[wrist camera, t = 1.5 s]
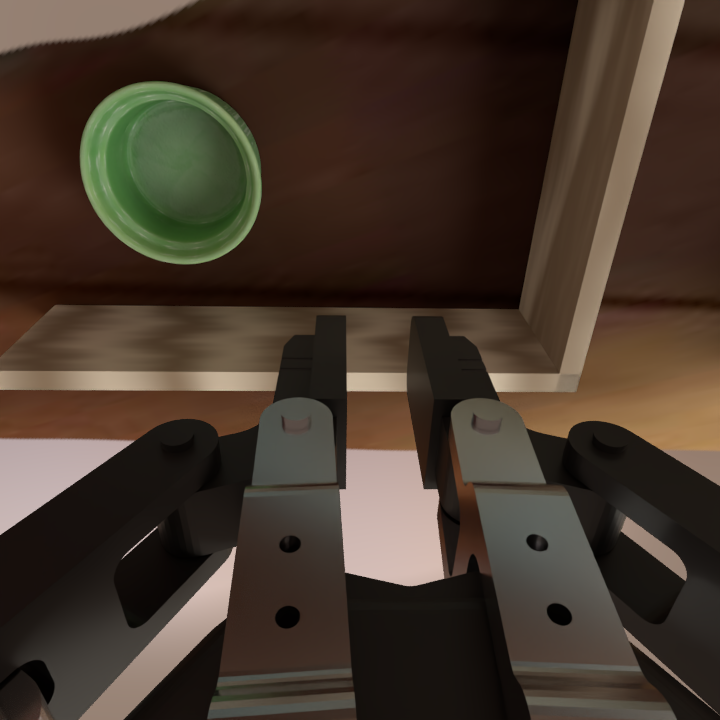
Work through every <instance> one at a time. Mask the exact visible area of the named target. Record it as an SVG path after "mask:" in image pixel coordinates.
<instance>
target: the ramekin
mask: <svg viewBox="0 0 720 720" xmlns="http://www.w3.org/2000/svg"><path fill="white" fill-rule="evenodd" d="M80 169H81V176H82V181H83V184H84V188H85V191H86V194H87V196H88V198H89V201H90V203H91V205H92V206H93V208H94V210H95V212H96V213H97V215H98V216H99V218H100V219H101V220H102V222H103V223H104V224H105V226H106V227H107V228H108V229H109V230H110V231H111V232H112V233H113V234H114V235H115V236H116V237H117V238H118V239H119V240H121V241H122V242H123V243H125V244H126V245H128V246H129V247H131V248H132V249H134V250H135V251H137V252H139V253H141V254H143V255H145V256H147V257H150V258H153V259H156V260H159V261H163V262H167V263H174V264H197V263H203V262H207V261H211V260H214V259H216V258H219V257H221V256H223V255H224V254H226V253H228V252H229V251H231V250H232V249H233V248H235V247H236V246H237V245H238V244H239V243H240V242H241V241H242V240H243V239H244V238H245V237H246V235H247V234H248V233H249V231H250V230H251V228H252V226H253V224H254V222H255V220H256V217H257V214H258V211H259V207H260V202H261V194H262V182H261V162H260V157H259V152H258V148H257V145H256V142H255V140H254V138H253V135H252V133H251V132H250V130H249V128H248V127H247V125H246V123H245V122H244V121H243V119H242V118H241V117H240V116H239V114H238V113H237V112H236V111H235V110H234V109H233V108H232V107H230V106H229V105H228V104H227V103H226V102H224V101H223V100H221V99H220V98H219V97H217V96H215V95H213V94H212V93H209V92H207V91H204V90H201V89H199V88H195V87H190V86H185V85H181V84H177V83H172V82H164V81H146V82H140V83H135V84H131V85H128V86H125V87H123V88H120V89H119V90H117V91H115V92H113V93H112V94H110V95H109V96H107V97H106V98H105V99H104V100H103V101H102V102H101V103H100V104H99V105H98V106H97V107H96V108H95V109H94V111H93V113H92V114H91V116H90V117H89V119H88V121H87V123H86V126H85V128H84V131H83V135H82V139H81V145H80Z"/></svg>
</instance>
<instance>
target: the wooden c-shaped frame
mask: <svg viewBox="0 0 720 720" xmlns="http://www.w3.org/2000/svg"><path fill="white" fill-rule="evenodd" d="M684 2H685V0H578V5H577V10H576V16H575V21H574V26H573V31H572V36H571V41H570V47H569V52H568V57H567V62H566V67H565V73H564V78H563V83H562V88H561V93H560V98H559V104H558V109H557V114H556V119H555V124H554V129H553V135H552V140H551V145H550V150H549V155H548V161H547V166H546V171H545V176H544V181H543V186H542V192H541V197H540V202H539V207H538V212H537V218H536V223H535V228H534V233H533V238H532V243H531V249H530V254H529V259H528V264H527V269H526V274H525V280H524V285H523V290H522V295H521V300H520V306H519V309H443V308H334V307H226V306H118V305H55V306H53V307H52V308H51V309H50V310H49V311H48V312H47V313H46V314H45V315H44V316H43V317H42V318H41V319H40V320H39V321H38V322H37V323H36V324H35V325H34V326H32V327H31V328H30V329H29V330H28V331H27V332H26V333H25V334H24V335H23V336H22V337H21V338H20V339H19V340H18V341H17V342H16V343H15V344H14V345H13V346H11V347H10V348H9V349H8V350H7V351H6V352H5V353H4V354H3V355H2V356H1V357H0V390H201V391H275V390H276V385H277V379H278V374H279V370H280V363H281V360H282V353H283V348H284V345H285V344H286V343H287V342H288V341H289V340H290V339H291V338H292V337H293V336H294V335H315V326H316V316H317V315H346V356H347V391H407V363H408V351H409V338H410V326H411V319H412V316H442V317H443V318H444V321H445V324H446V327H447V330H448V332H449V335H450V336H464V337H466V338H467V339H468V340H469V341H471V342H472V343H473V344H474V345H475V346H477V348H478V350H479V353H480V355H481V357H482V361H483V362H484V365H485V367H486V372H488V374H489V376H490V379H491V381H492V384H493V386H494V388H495V391H496V392H576V390H577V387H578V383H579V380H580V376H581V372H582V369H583V365H584V362H585V358H586V354H587V351H588V347H589V344H590V340H591V336H592V333H593V329H594V326H595V322H596V318H597V315H598V311H599V308H600V304H601V300H602V297H603V293H604V290H605V286H606V283H607V279H608V275H609V272H610V268H611V265H612V261H613V257H614V254H615V250H616V247H617V243H618V239H619V236H620V232H621V229H622V225H623V221H624V218H625V214H626V211H627V207H628V203H629V200H630V196H631V193H632V189H633V185H634V182H635V178H636V175H637V171H638V167H639V164H640V160H641V157H642V153H643V149H644V146H645V142H646V139H647V135H648V131H649V128H650V124H651V121H652V117H653V113H654V110H655V106H656V103H657V99H658V95H659V92H660V88H661V85H662V81H663V77H664V74H665V70H666V67H667V63H668V59H669V56H670V52H671V49H672V45H673V41H674V38H675V34H676V31H677V27H678V23H679V20H680V16H681V13H682V9H683V5H684Z"/></svg>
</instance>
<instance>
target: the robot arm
mask: <svg viewBox="0 0 720 720" xmlns="http://www.w3.org/2000/svg"><path fill="white" fill-rule="evenodd" d="M407 396H408V402H409V407H410V413H411V419H412V425H413V430H414V436H415V442H416V447H417V453H418V459H419V465H420V470H421V476H422V481H423V487H424V489H438V493H439V505H438V512H437V520H438V528H439V537H440V545H441V554H442V562H443V571H444V579H442V580H438V581H434V582H430V583H426V584H422V585H418V586H403V585H399V584H394V583H389V582H385V581H380V580H375V579H371V578H367V577H362V576H357V575H353V574H349V573H345V567H344V552H343V537H342V523H341V508H340V494H339V489H346V430H347V356H346V315H317V316H316V326H315V335H294V336H293V337H292V338H291V339H290V340H289V341H288V342H287V343H286V344H285V345H284V348H283V353H282V360H281V363H280V370H279V374H278V379H277V385H276V390H275V395H274V401H273V404H271V405H270V406H269V407H267V408H266V409H265V410H264V411H263V413H262V414H261V417H260V422H259V424H258V425H257V426H255V427H253V428H251V429H249V430H246V431H243V432H239V433H235V434H230V435H226V436H221V437H218V434H217V431H216V430H215V428H214V427H213V426H211V425H210V424H208V423H206V422H204V421H201V420H195V419H180V420H174V421H170V422H167V423H164V424H161V425H159V426H157V427H155V428H153V429H152V430H150V431H149V432H147V433H146V434H145V435H143V436H142V437H140V438H139V439H137V440H136V441H134V442H133V443H132V444H130V445H129V446H127V447H126V448H124V449H123V450H122V451H120V452H119V453H117V454H116V455H114V456H113V457H112V458H110V459H109V460H107V461H106V462H104V463H103V464H102V465H100V466H99V467H97V468H96V469H94V470H93V471H91V472H90V473H89V474H87V475H86V476H84V477H83V478H82V479H80V480H79V481H77V482H76V483H74V484H73V485H71V486H70V487H69V488H67V489H66V490H64V491H63V492H61V493H60V494H59V495H57V496H56V497H54V498H53V499H51V500H50V501H49V502H47V503H46V504H44V505H43V506H41V507H40V508H39V509H37V510H36V511H34V512H33V513H31V514H30V515H28V516H27V517H26V518H24V519H23V520H21V521H20V522H18V523H17V524H16V525H14V526H13V527H11V528H10V529H8V530H7V531H5V532H4V533H3V534H1V535H0V720H78V719H79V718H80V717H81V716H82V715H83V714H84V713H85V712H86V711H87V710H88V709H89V707H90V706H91V705H92V704H93V703H94V702H95V701H96V700H97V699H98V698H99V697H100V696H101V694H102V693H103V692H104V691H105V690H106V689H107V688H108V687H109V686H110V685H111V684H112V683H113V682H114V680H115V679H116V678H117V677H118V676H119V675H120V674H121V673H122V672H123V671H124V670H125V669H126V668H127V666H128V665H129V664H130V663H131V662H132V661H133V660H134V659H135V658H136V657H137V656H138V655H139V654H140V652H141V651H142V650H143V649H144V648H145V647H146V646H147V645H148V644H149V643H150V642H151V641H152V640H153V638H154V637H155V636H156V635H157V634H158V633H159V632H160V631H161V630H162V629H163V628H164V627H165V626H166V624H168V622H169V621H170V620H171V619H172V618H173V617H174V616H175V615H176V614H177V613H178V612H179V611H180V610H181V608H182V607H183V606H184V605H185V604H186V603H187V602H188V601H189V599H191V598H192V597H193V596H194V594H195V593H196V592H197V591H198V590H199V589H200V588H201V587H202V586H203V585H204V584H205V583H206V582H207V580H208V579H209V578H210V577H211V576H212V575H213V574H214V573H215V572H216V571H217V570H218V569H219V568H220V566H221V565H222V564H223V563H224V562H225V561H226V559H227V558H228V557H229V555H230V554H231V551H232V548H233V547H236V546H237V548H236V555H235V562H234V569H233V578H232V584H231V591H230V598H229V606H228V614H227V618H226V619H225V620H224V621H223V622H221V623H220V624H219V625H218V626H216V627H215V628H214V629H213V630H212V631H211V632H210V633H209V634H208V635H207V636H206V637H205V638H204V639H203V640H202V641H201V642H200V643H199V644H198V645H197V646H196V647H195V648H194V649H193V650H192V651H191V652H190V653H189V654H188V655H187V656H186V657H185V658H184V659H183V660H182V661H181V662H180V663H179V664H178V665H177V666H176V667H175V668H174V669H173V670H172V671H171V672H170V673H169V674H168V675H167V676H166V677H165V678H164V679H163V680H162V681H161V682H160V683H159V684H158V685H157V686H156V687H155V688H154V689H153V690H152V691H151V692H150V693H149V694H148V695H147V696H146V697H145V698H144V700H142V701H141V702H140V703H139V704H138V706H136V708H135V709H134V710H133V711H132V712H131V713H130V714H129V715H128V716H127V717H126V718H125V719H124V720H720V486H719V485H717V484H715V483H714V482H712V481H710V480H709V479H707V478H706V477H704V476H702V475H701V474H699V473H697V472H696V471H694V470H692V469H691V468H689V467H688V466H686V465H684V464H683V463H681V462H680V461H678V460H676V459H675V458H673V457H671V456H670V455H668V454H666V453H665V452H663V451H662V450H660V449H658V448H657V447H655V446H653V445H652V444H650V443H649V442H647V441H645V440H644V439H642V438H640V437H639V436H637V435H635V434H634V433H632V432H630V431H629V430H627V429H625V428H623V427H620V426H618V425H615V424H611V423H607V422H601V421H586V422H581V423H578V424H576V425H575V426H573V427H572V428H571V430H570V431H569V434H568V438H567V439H566V438H561V437H557V436H552V435H547V434H543V433H539V432H535V431H532V430H529V429H527V428H526V427H525V425H524V422H523V419H522V417H521V416H520V415H519V413H518V412H517V411H516V410H514V409H513V408H512V407H510V406H508V405H506V404H504V403H502V402H500V400H499V398H498V395H497V393H496V391H495V388H494V386H493V384H492V381H491V379H490V376H489V374H488V372H486V367H485V365H484V362H483V361H482V357H481V355H480V353H479V350H478V348H477V346H475V345H474V344H473V343H472V342H471V341H469V340H468V339H467V338H466V337H464V336H450V335H449V332H448V330H447V327H446V324H445V321H444V318H443V317H442V316H412V319H411V326H410V338H409V351H408V363H407ZM626 516H627V517H629V518H630V519H631V520H633V521H634V522H635V523H637V524H638V525H639V526H641V527H642V528H644V529H645V530H646V531H647V532H649V533H650V534H651V535H653V536H654V537H655V538H657V539H658V540H659V541H661V542H662V543H664V544H665V545H666V546H668V547H669V548H670V549H672V550H673V551H674V552H675V553H676V554H677V555H678V556H679V557H680V559H681V560H682V562H683V563H684V565H685V567H686V571H687V579H686V581H685V580H683V579H682V578H681V577H679V576H678V575H677V574H675V573H674V572H673V571H672V570H670V569H669V568H668V567H666V566H665V565H664V564H663V563H661V562H660V561H658V560H657V559H656V558H655V557H653V556H652V555H651V554H649V553H648V552H647V551H646V550H644V549H643V548H642V547H641V546H639V545H638V544H636V543H635V542H634V541H633V540H631V539H630V538H629V537H627V536H626V535H624V533H622V532H621V529H622V526H623V524H624V521H625V519H626ZM156 526H158V528H157V529H156V530H154V531H153V532H152V533H151V534H150V535H149V536H148V537H147V538H145V539H144V540H143V541H142V542H141V543H140V544H139V545H137V546H136V547H135V548H134V549H133V550H132V551H131V552H130V553H129V554H127V555H126V556H125V557H124V558H123V556H124V555H125V554H126V553H127V552H128V551H129V550H130V549H131V548H133V547H134V546H135V545H136V544H137V543H138V542H139V541H140V540H141V539H143V538H144V537H145V536H146V535H147V534H149V533H150V532H151V531H152V530H153V529H154V528H155V527H156ZM122 558H123V559H122ZM121 559H122V560H121ZM623 627H624V628H625V629H626V630H627V631H629V632H630V633H631V634H632V635H633V636H634V637H635V638H636V639H637V640H638V641H640V642H641V643H642V644H643V645H644V646H645V647H646V648H647V649H648V650H649V651H650V652H651V653H653V654H654V655H655V656H656V657H657V658H658V659H659V660H660V661H661V662H662V663H663V664H665V665H666V666H667V667H668V668H669V669H670V670H671V671H672V672H673V673H674V674H676V675H677V676H678V677H679V678H680V679H681V680H682V681H683V682H684V683H685V684H686V685H688V686H689V687H690V688H691V689H692V690H693V691H694V692H695V693H696V694H697V695H698V696H700V697H701V698H702V699H703V700H704V701H705V702H706V703H707V704H708V705H709V706H711V707H712V708H713V709H714V710H715V711H716V712H717V713H718V714H719V715H718V714H717V713H716V712H715V711H714V710H712V709H711V708H710V707H709V706H708V705H706V704H705V703H704V702H703V701H701V700H700V699H699V698H697V697H696V696H695V695H694V694H693V693H691V692H690V691H689V690H688V689H687V688H686V687H684V686H683V685H681V683H679V682H678V681H677V680H676V679H675V678H673V677H672V676H671V675H670V674H669V673H667V672H666V671H665V670H664V669H662V668H661V667H660V666H659V665H658V664H656V663H655V662H654V661H653V660H651V659H650V658H649V657H648V656H647V655H645V654H644V653H643V652H642V651H640V650H639V649H638V648H637V647H635V646H634V645H633V644H632V643H630V641H629V640H628V638H627V635H626V633H625V630H624V628H623Z"/></svg>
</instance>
